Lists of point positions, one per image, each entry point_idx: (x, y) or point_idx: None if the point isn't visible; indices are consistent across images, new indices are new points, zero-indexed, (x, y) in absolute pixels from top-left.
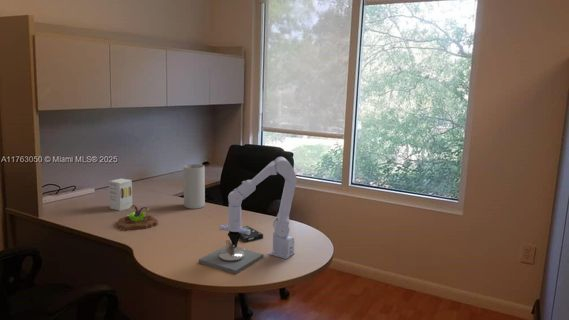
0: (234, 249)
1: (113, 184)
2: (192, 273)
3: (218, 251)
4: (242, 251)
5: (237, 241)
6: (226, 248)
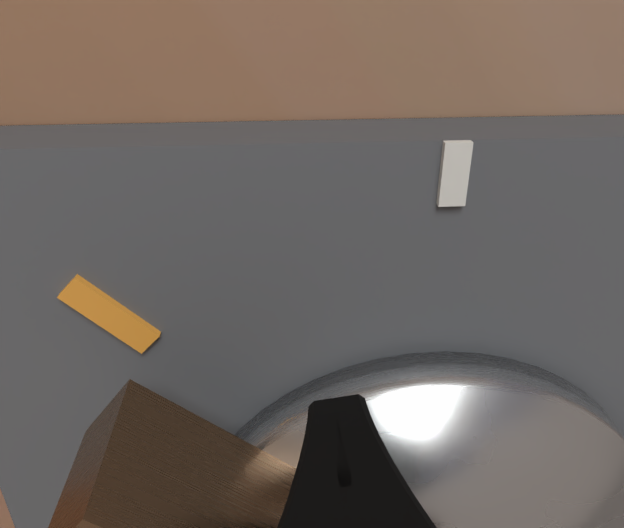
0: None
1: None
2: None
3: None
4: (561, 416)
5: (403, 511)
6: (61, 334)
